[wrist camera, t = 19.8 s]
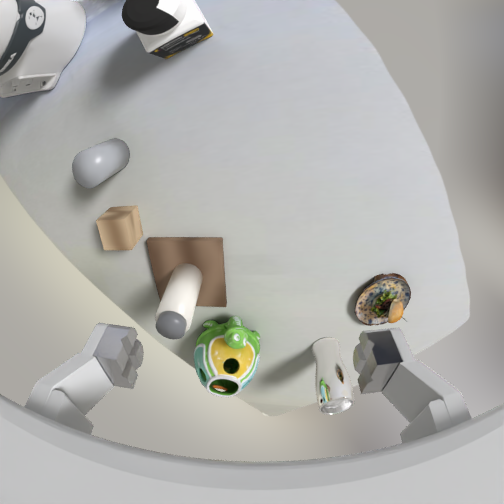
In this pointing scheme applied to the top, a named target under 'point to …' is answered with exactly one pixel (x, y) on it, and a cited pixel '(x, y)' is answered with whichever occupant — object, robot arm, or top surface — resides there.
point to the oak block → (120, 228)
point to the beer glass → (331, 378)
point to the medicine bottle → (166, 24)
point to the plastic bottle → (179, 301)
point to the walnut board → (192, 252)
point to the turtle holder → (226, 356)
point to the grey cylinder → (100, 162)
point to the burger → (383, 300)
